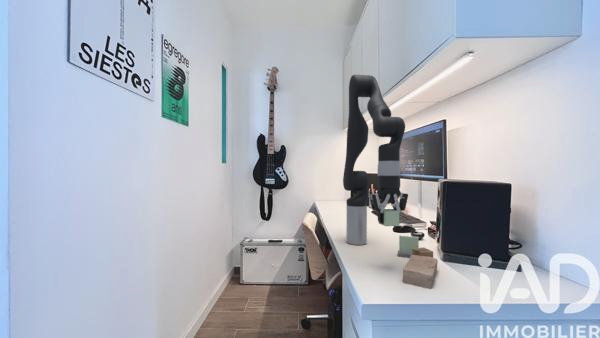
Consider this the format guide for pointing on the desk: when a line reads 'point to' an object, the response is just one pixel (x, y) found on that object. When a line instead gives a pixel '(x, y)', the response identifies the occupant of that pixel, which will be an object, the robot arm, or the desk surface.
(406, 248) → the green and grey bar
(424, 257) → the brick
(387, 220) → the green block
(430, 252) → the walnut block
